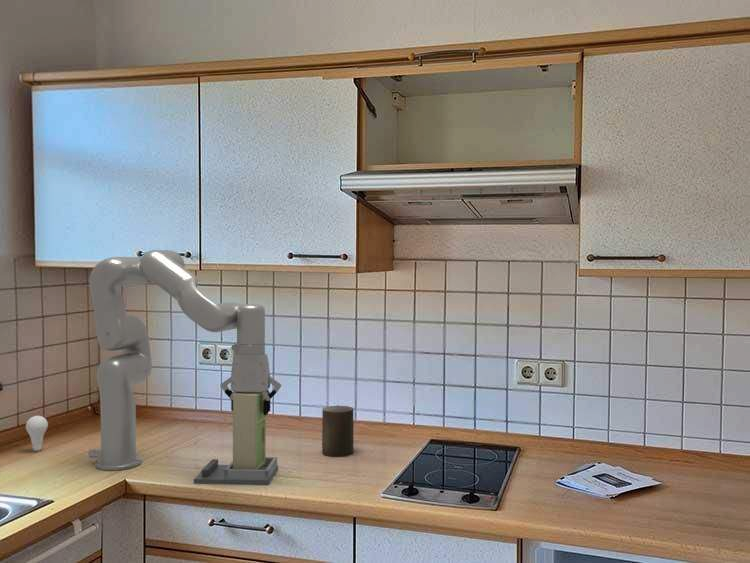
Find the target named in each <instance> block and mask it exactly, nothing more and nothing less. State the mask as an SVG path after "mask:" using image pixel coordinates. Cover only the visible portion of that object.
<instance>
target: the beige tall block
mask: <svg viewBox="0 0 750 563" xmlns="http://www.w3.org/2000/svg"><path fill="white" fill-rule="evenodd" d="M264 400H265V398H264V396H263V394H262V393H247V392H238V393H234V394H233V411H232V461H233V469H247V470H259V469H260V468H261V467H262V466H263V465H265V462H266V457H267V456H266V454H267V453H266V448H267V447H266V443H267V442H266V437H267V435H266V425H267V423H266V421H267V420H266V419H267V415H264Z"/></svg>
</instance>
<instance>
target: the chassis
mask: <svg viewBox="0 0 750 563" xmlns="http://www.w3.org/2000/svg"><path fill="white" fill-rule="evenodd" d="M278 471H279V465H278V457H277V456H266V462H265V465H263V466H262V467H261V468H260V469H259V470H247V469H233V460H232V461H231V462H230V463H229V464H219V459H218V458H212V459H211V460H210V461H209V462H208V463H207V464H206V465H205V466H204V467H203V468H202V469H201V471H200V472H199V473H198V474H197V475H196V476H195V477H194V478H193V484H197V485H201V484H203V485H250V486H269V485H270V484H271V482H272V480H273V479H274V477H275V475H276V474H277V472H278Z"/></svg>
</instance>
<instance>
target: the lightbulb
mask: <svg viewBox="0 0 750 563" xmlns="http://www.w3.org/2000/svg"><path fill="white" fill-rule="evenodd" d="M48 426H49V423H48V421H47V419H46V418H45V417H44V416H41V415H34V416H32V417H30V418H29V419H28V420H27V421H26V423H25V431H26V432H27V434H28V435H29V437H30V440H31V444H32V445H31V446H32V450H33V451H35V452H39V451H40V450H42V448H43V440H44V436H45V433H46V432H47V429H48Z"/></svg>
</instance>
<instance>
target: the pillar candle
mask: <svg viewBox="0 0 750 563" xmlns="http://www.w3.org/2000/svg"><path fill="white" fill-rule="evenodd" d="M321 416H322V418H321V420H322V421H321V423H322V424H321V426H322V429H321V432H322V434H321V447H322V448H321V450H322V454H323V455H325V456H328V457H334V458H335V457H336V458H337V457H347V456H348V455H349V456H351V455H353V454H354V441H355V440H354V407H352V406H348V405H339V404H336V405H330V406H324V407H322V415H321ZM349 456H348V457H349Z"/></svg>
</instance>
